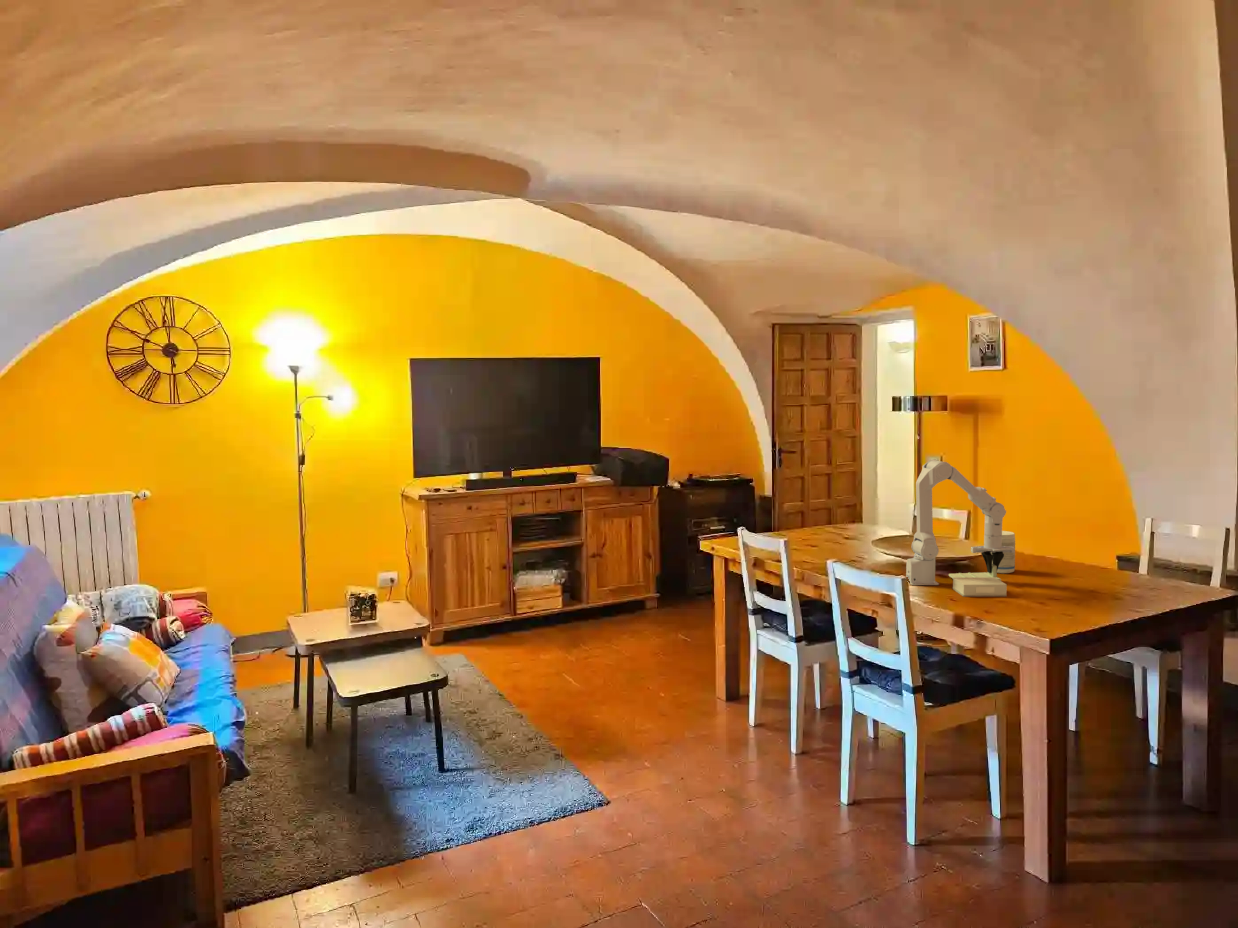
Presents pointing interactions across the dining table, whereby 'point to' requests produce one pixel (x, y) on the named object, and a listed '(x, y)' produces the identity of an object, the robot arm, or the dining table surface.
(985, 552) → the robot arm
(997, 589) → the block
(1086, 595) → the dining table surface
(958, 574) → the lid
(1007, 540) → the supplement tub
